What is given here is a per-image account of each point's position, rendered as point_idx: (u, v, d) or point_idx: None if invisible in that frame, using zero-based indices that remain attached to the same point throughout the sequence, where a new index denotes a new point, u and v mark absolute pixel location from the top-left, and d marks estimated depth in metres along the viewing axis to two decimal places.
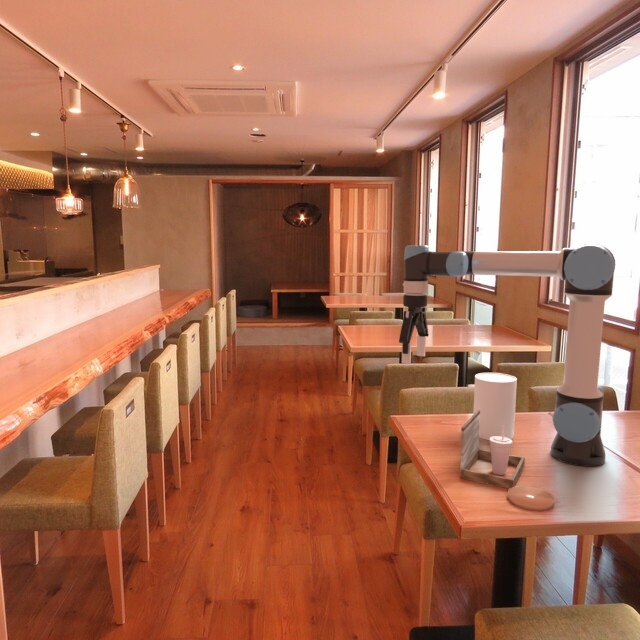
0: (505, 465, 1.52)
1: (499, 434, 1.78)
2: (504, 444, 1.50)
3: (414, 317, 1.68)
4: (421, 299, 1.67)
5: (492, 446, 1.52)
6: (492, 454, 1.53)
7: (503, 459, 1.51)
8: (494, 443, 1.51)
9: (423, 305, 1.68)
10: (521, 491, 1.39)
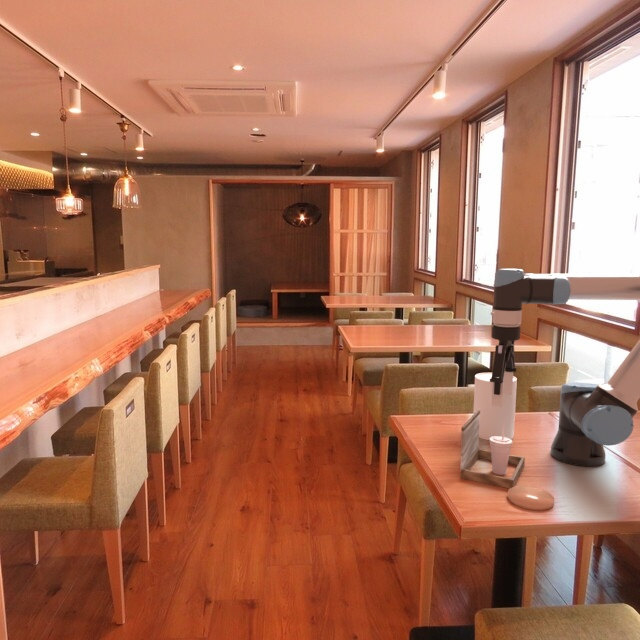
0: (505, 465, 1.52)
1: (499, 434, 1.78)
2: (504, 444, 1.50)
3: (506, 352, 1.46)
4: (515, 331, 1.45)
5: (492, 446, 1.52)
6: (492, 454, 1.53)
7: (503, 459, 1.51)
8: (494, 443, 1.51)
9: (517, 338, 1.46)
10: (521, 491, 1.39)
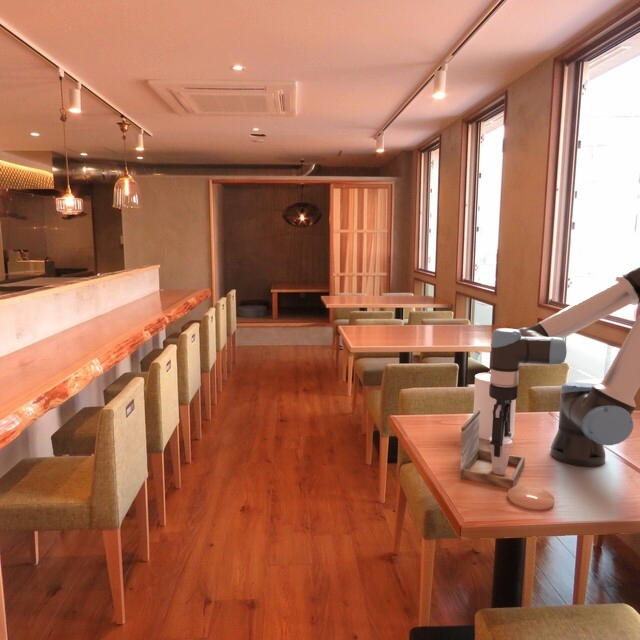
0: (505, 465, 1.52)
1: None
2: (504, 444, 1.50)
3: (503, 411, 1.48)
4: (512, 391, 1.47)
5: (492, 446, 1.52)
6: None
7: (503, 459, 1.51)
8: None
9: (514, 398, 1.48)
10: (521, 491, 1.39)
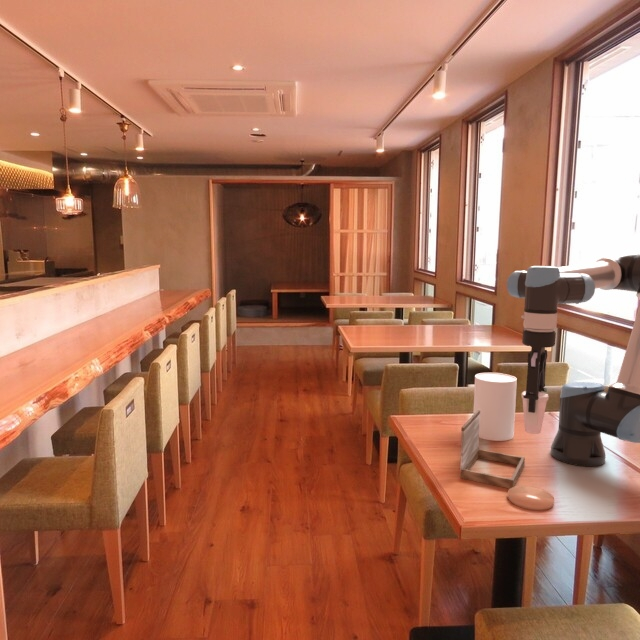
0: (540, 423, 1.33)
1: (499, 434, 1.78)
2: (539, 398, 1.31)
3: (540, 360, 1.29)
4: (550, 336, 1.28)
5: (525, 401, 1.33)
6: (525, 410, 1.34)
7: (538, 416, 1.32)
8: None
9: (552, 344, 1.29)
10: (521, 491, 1.39)
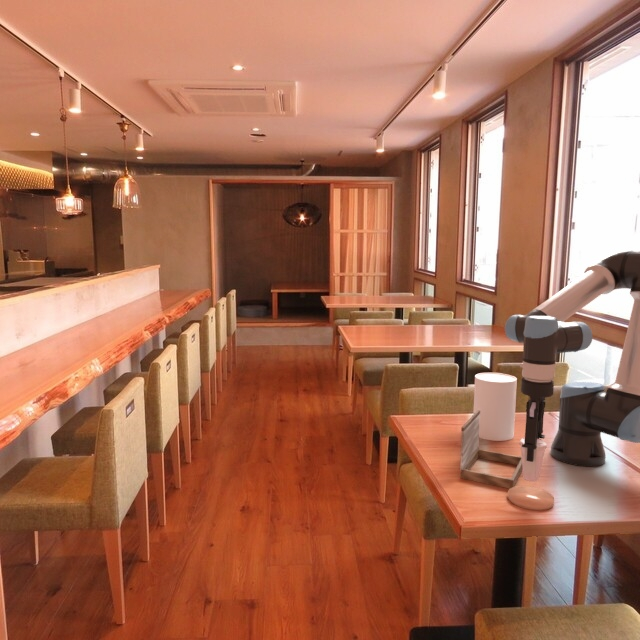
0: (538, 471, 1.34)
1: (499, 434, 1.78)
2: (538, 447, 1.32)
3: (538, 410, 1.31)
4: (548, 387, 1.30)
5: (523, 449, 1.34)
6: (523, 458, 1.35)
7: (536, 464, 1.33)
8: None
9: (550, 394, 1.30)
10: (521, 491, 1.39)
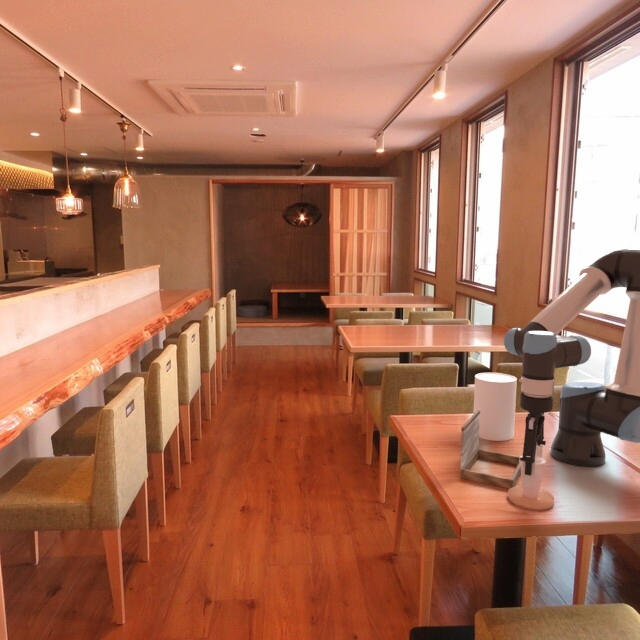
0: (538, 488, 1.35)
1: (499, 434, 1.78)
2: (537, 465, 1.33)
3: (537, 425, 1.31)
4: (547, 402, 1.30)
5: None
6: None
7: (535, 482, 1.34)
8: None
9: (549, 410, 1.31)
10: (521, 491, 1.39)
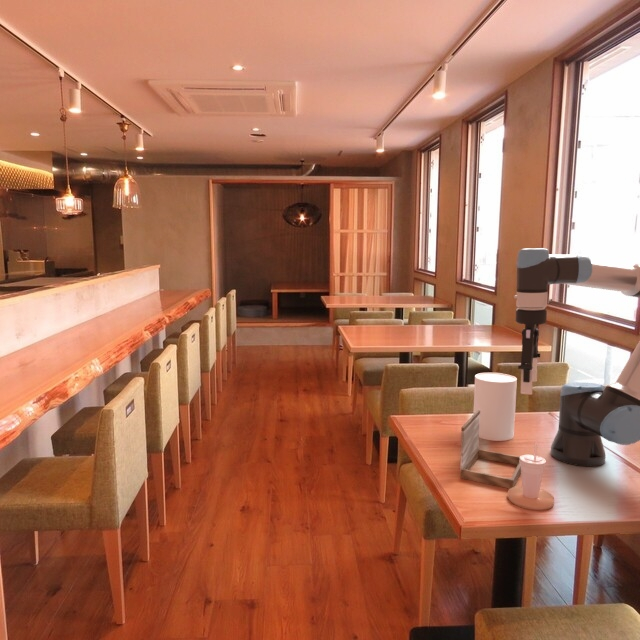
0: (538, 488, 1.35)
1: (499, 434, 1.78)
2: (537, 464, 1.33)
3: (533, 336, 1.38)
4: (542, 314, 1.37)
5: (523, 466, 1.35)
6: (523, 475, 1.36)
7: (535, 481, 1.34)
8: (526, 463, 1.34)
9: (544, 321, 1.38)
10: (521, 491, 1.39)
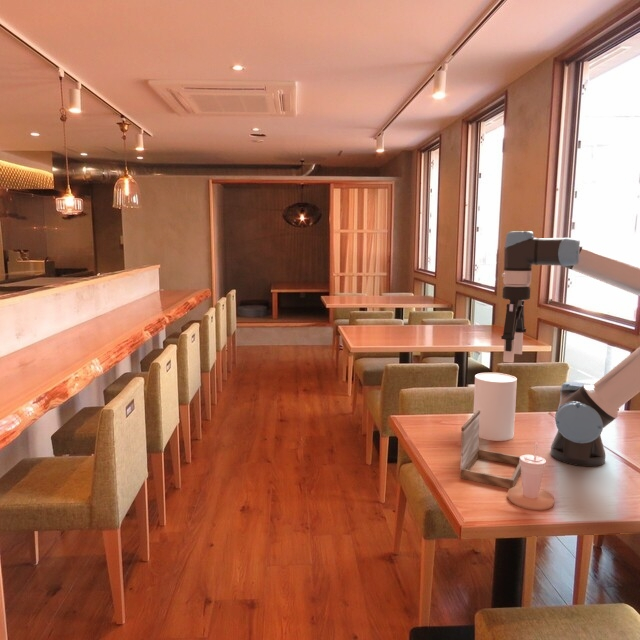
0: (538, 488, 1.35)
1: (499, 434, 1.78)
2: (537, 464, 1.33)
3: (517, 311, 1.52)
4: (525, 290, 1.51)
5: (523, 466, 1.35)
6: (523, 475, 1.36)
7: (535, 482, 1.34)
8: (526, 463, 1.34)
9: (527, 297, 1.52)
10: (521, 491, 1.39)
